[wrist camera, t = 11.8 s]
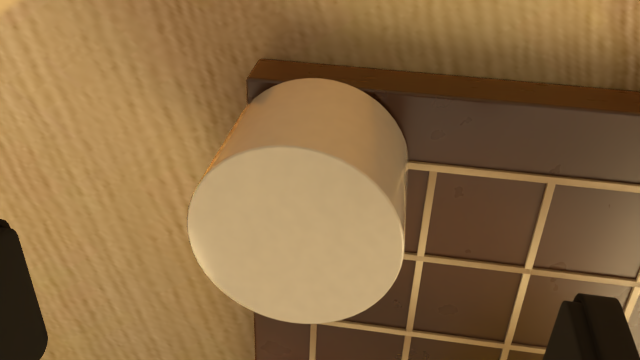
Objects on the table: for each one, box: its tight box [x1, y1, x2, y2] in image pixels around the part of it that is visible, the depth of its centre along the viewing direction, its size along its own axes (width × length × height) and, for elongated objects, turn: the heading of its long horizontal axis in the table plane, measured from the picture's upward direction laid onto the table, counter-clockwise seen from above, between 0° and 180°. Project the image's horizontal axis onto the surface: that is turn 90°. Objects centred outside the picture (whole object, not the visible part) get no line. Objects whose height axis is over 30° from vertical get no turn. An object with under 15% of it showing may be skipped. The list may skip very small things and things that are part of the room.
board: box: [246, 59, 640, 360], centre depth 19 cm, size 16×16×2 cm
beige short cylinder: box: [187, 78, 409, 324], centre depth 15 cm, size 5×5×4 cm
